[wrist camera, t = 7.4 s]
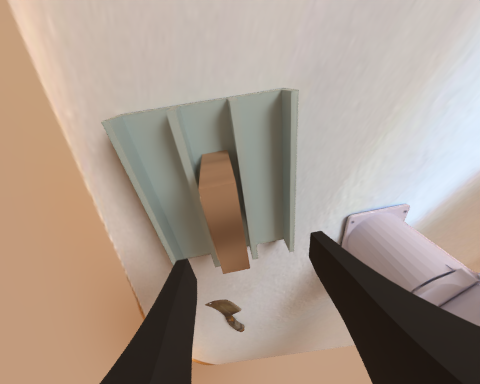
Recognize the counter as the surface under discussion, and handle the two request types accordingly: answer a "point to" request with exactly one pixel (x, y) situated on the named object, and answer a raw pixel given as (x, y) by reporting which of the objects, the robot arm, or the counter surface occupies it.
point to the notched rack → (189, 164)
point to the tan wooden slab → (223, 211)
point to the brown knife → (228, 312)
